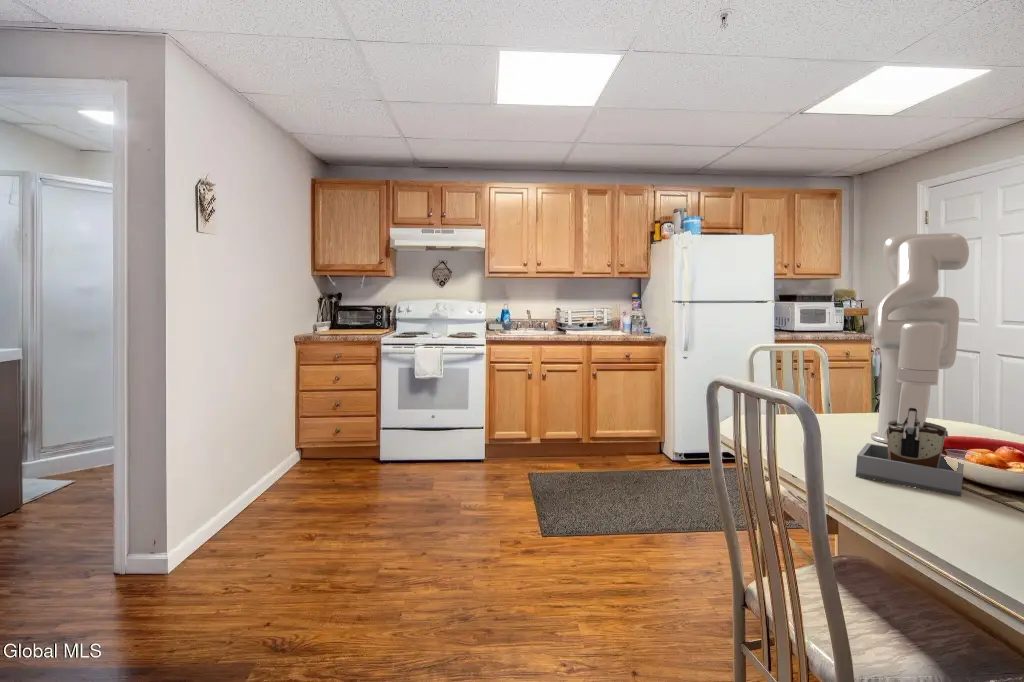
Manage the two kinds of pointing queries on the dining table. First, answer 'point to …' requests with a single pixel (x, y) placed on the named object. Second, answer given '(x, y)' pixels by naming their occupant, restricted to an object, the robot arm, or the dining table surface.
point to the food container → (928, 445)
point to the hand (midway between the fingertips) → (910, 452)
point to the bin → (908, 471)
